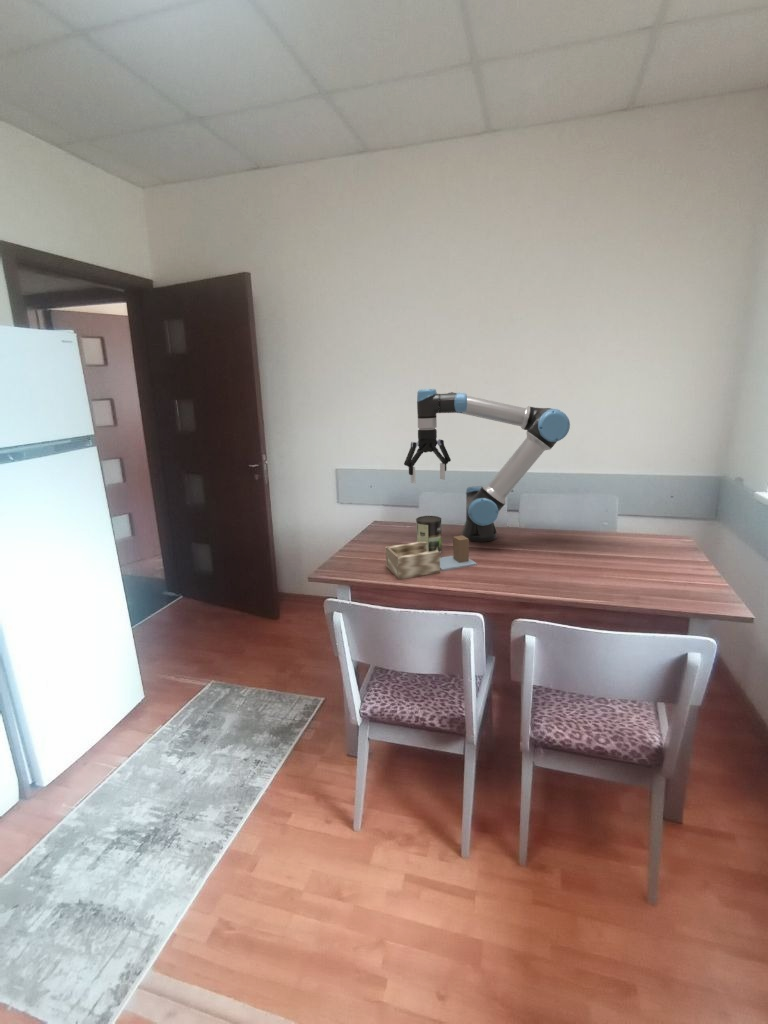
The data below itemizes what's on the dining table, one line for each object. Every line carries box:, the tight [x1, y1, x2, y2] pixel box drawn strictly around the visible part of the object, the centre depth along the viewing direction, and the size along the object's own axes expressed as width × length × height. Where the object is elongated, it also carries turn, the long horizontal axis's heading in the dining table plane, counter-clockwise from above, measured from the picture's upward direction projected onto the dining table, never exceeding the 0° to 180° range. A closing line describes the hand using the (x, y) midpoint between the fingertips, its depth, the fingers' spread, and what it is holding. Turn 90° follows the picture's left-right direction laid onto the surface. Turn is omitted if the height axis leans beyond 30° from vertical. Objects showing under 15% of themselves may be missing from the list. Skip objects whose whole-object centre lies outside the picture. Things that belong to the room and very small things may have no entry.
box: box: [385, 541, 441, 580], centre depth 179 cm, size 16×14×8 cm
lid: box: [440, 535, 478, 572], centre depth 184 cm, size 14×12×10 cm
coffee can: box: [415, 515, 443, 554], centre depth 198 cm, size 10×10×14 cm
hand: (428, 481), depth 198 cm, fingers open, 13 cm apart
